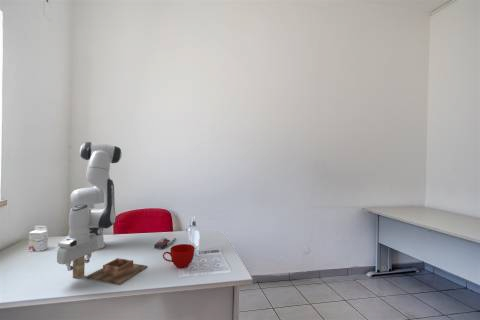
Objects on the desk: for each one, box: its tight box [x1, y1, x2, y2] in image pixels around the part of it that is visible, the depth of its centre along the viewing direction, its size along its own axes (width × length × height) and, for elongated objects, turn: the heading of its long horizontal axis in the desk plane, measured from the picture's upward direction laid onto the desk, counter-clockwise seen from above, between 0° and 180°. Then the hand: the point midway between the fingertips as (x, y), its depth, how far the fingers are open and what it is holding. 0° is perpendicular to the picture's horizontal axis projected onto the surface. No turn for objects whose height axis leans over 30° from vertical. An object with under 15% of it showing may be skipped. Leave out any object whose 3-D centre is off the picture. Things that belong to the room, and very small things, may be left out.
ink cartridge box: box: [28, 225, 49, 251], centre depth 163 cm, size 9×5×15 cm, turn 92°
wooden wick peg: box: [72, 255, 86, 279], centre depth 129 cm, size 4×4×12 cm
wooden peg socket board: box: [86, 257, 148, 286], centre depth 135 cm, size 20×20×5 cm
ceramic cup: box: [162, 243, 196, 269], centre depth 143 cm, size 13×17×10 cm
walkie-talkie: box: [153, 237, 177, 250], centre depth 179 cm, size 9×4×20 cm
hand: (78, 266), depth 129 cm, fingers open, 8 cm apart
